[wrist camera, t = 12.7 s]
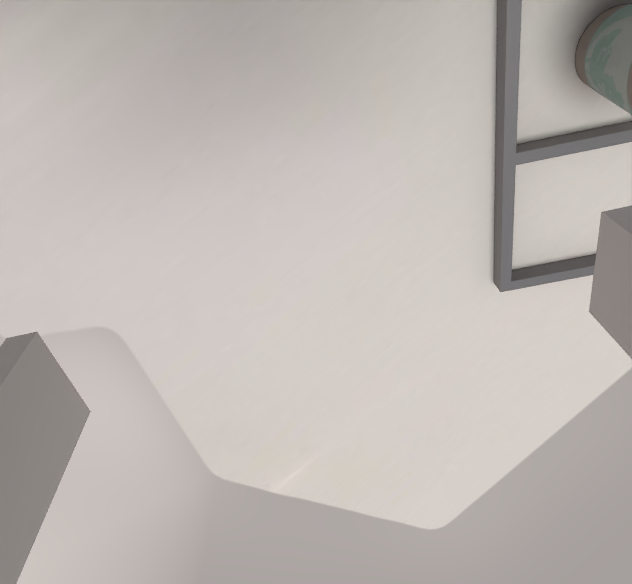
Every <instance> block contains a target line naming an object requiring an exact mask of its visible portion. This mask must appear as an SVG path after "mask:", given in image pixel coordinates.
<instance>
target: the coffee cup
mask: <svg viewBox="0 0 632 584" xmlns="http://www.w3.org/2000/svg"><path fill="white" fill-rule="evenodd" d="M575 65H576V70H577V73H578V76H579V77H580V79H581V80H582V81H583V82H584V83H585V84H586V85H588V86H589V87H591V88H592V89H594V90H595V91H596V92H598V93H599V94H601V95H602V96H604V97H605V98H607V99H608V100H610V101H611V102H613V103H614V104H616V105H618V106H619V107H621V108H622V109H624V110H625V111H627V112H628V113H630V114H631V115H632V4H625V5H618V6H615V7H612V8H610V9H608V10H606V11H605V12H603V13H602V14H600V15H599V16H598V17H596V18H595V19H594V20H593V21H592V22H591V23H590V25H589V26H588V27H587V29H586V30H585V31H584V33H583V35H582V37H581V39H580V41H579V43H578V46H577V50H576V56H575Z"/></svg>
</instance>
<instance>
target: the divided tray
mask: <svg viewBox="0 0 632 584" xmlns="http://www.w3.org/2000/svg"><path fill="white" fill-rule="evenodd" d="M521 4H522V0H497V69H496V143H495V218H494V284H495V285H496V286H497V288H498V289H499V291H500V292H504V291H509V290H515V289H520V288H525V287H530V286H536V285H541V284H546V283H552V282H557V281H562V280H567V279H573V278H578V277H583V276H589V275H594V268H595V260H596V254H595V255H589V256H584V257H579V258H574V259H568V260H563V261H558V262H553V263H548V264H542V265H537V266H532V267H527V268H521V269H516V270H512V248H513V221H514V194H515V167H516V165H519V164H524V163H529V162H533V161H538V160H543V159H548V158H553V157H558V156H563V155H568V154H573V153H578V152H583V151H588V150H593V149H598V148H603V147H608V146H613V145H617V144H622V143H627V142H632V121H630V122H625V123H620V124H616V125H611V126H606V127H601V128H596V129H591V130H586V131H581V132H576V133H572V134H567V135H562V136H557V137H552V138H547V139H542V140H537V141H533V142H528V143H523V144H518V145H516V140H517V112H518V85H519V58H520V31H521Z"/></svg>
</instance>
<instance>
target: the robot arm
mask: <svg viewBox="0 0 632 584" xmlns="http://www.w3.org/2000/svg"><path fill="white" fill-rule="evenodd" d="M589 312H590V313H591V314H592V315H593V317H594V318H595V319H596V320H597V321H598V322H599V323H600V324H601V325H602V326H603V328H604V329H605V330H606V331H607V332H608V333H609V334H610V335H611V336H612V338H613V339H614V340H615V341H616V342H617V343H618V344H619V345H620V346H621V347H622V349H623V350H624V351H625V352H626V353H627V354H628V355H629V356H630V357H631V358H632V206H628V207H623V208H618V209H614V210H609V211H604V212H601V220H600V228H599V236H598V244H597V252H596V260H595V268H594V276H593V284H592V292H591V300H590V308H589ZM89 413H90V410H89V408H88V407H87V405H86V404H85V402H84V401H83V399H82V398H81V396H80V395H79V394H78V392H77V391H76V389H75V388H74V386H73V385H72V383H71V382H70V380H69V379H68V377H67V376H66V374H65V373H64V371H63V370H62V368H61V367H60V365H59V364H58V362H57V361H56V359H55V358H54V356H53V355H52V353H51V352H50V350H49V349H48V347H47V346H46V344H45V343H44V341H43V340H42V338H41V337H40V335H39V334H38V332H34V333H29V334H24V335H20V336H15V337H10V338H6V340H5V341H4V342H3V344H2V345H1V346H0V584H16V583H17V580H18V578H19V576H20V574H21V571H22V569H23V567H24V564H25V562H26V559H27V557H28V555H29V553H30V550H31V548H32V546H33V543H34V541H35V539H36V536H37V534H38V532H39V529H40V527H41V525H42V522H43V520H44V518H45V516H46V513H47V511H48V508H49V506H50V504H51V502H52V499H53V497H54V495H55V492H56V490H57V488H58V485H59V483H60V481H61V478H62V476H63V474H64V471H65V469H66V467H67V465H68V462H69V460H70V458H71V455H72V453H73V451H74V448H75V446H76V444H77V441H78V439H79V437H80V434H81V432H82V430H83V427H84V425H85V423H86V420H87V418H88V416H89Z"/></svg>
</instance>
